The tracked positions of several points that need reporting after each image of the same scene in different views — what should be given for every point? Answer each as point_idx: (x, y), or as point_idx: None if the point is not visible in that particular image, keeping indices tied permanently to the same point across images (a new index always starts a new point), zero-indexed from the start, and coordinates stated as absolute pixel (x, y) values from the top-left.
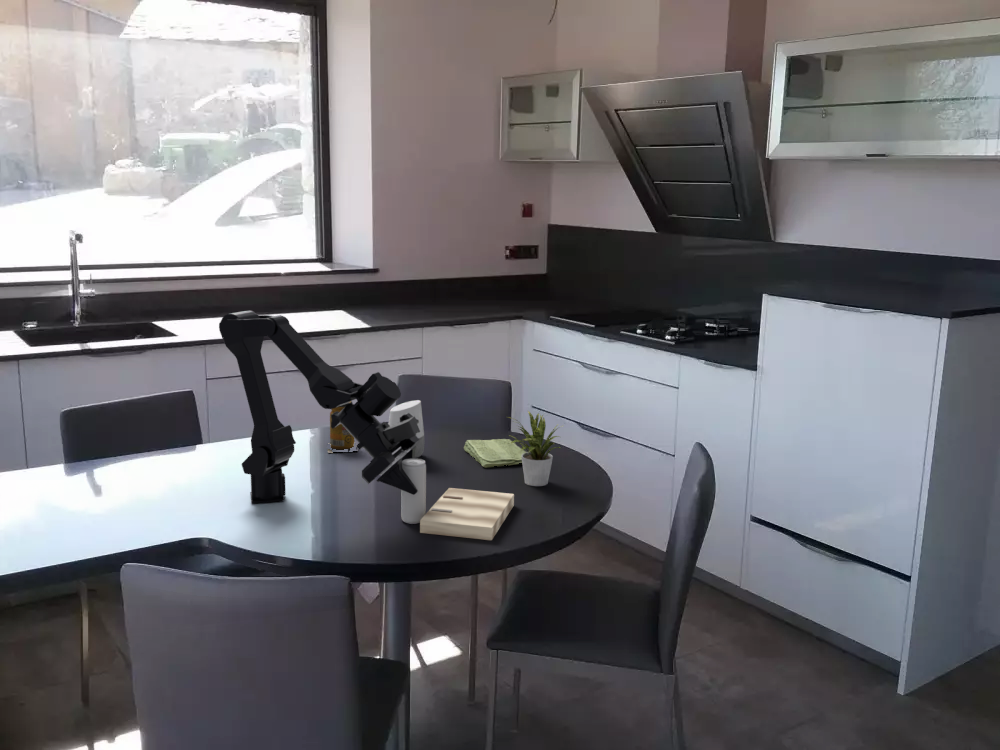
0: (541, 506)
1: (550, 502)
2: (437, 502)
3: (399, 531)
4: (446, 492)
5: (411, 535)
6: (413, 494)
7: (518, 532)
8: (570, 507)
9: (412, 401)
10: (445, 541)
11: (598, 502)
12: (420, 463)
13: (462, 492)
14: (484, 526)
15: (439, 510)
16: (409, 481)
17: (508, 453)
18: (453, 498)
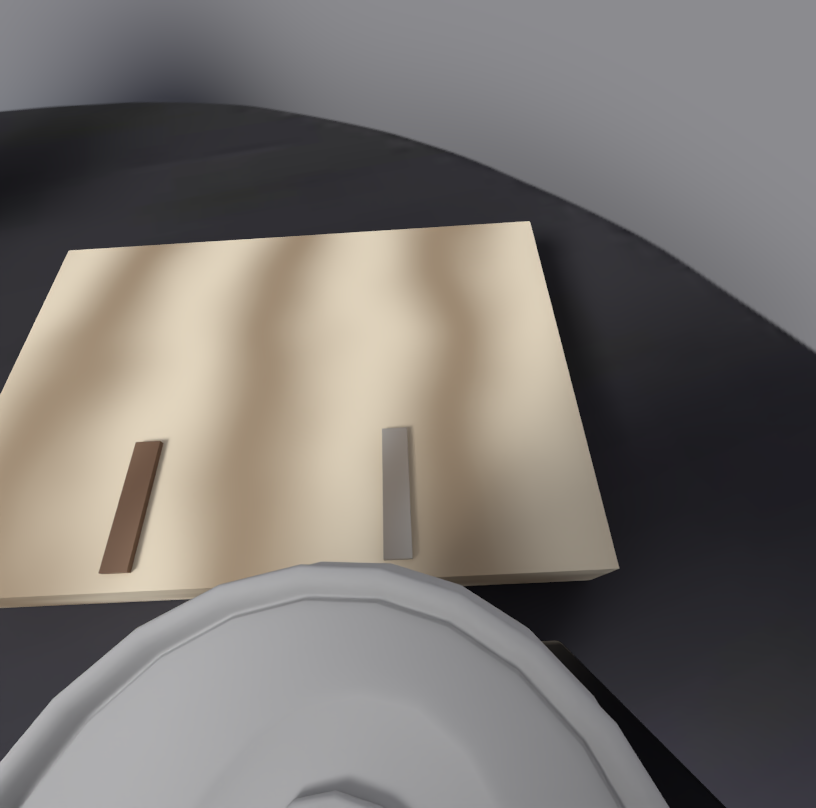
0: (116, 215)
1: (71, 202)
2: (239, 575)
3: None
4: (12, 586)
5: (652, 617)
6: None
7: (402, 217)
8: (126, 152)
9: None
10: (625, 415)
11: (77, 110)
12: (384, 677)
13: (24, 479)
14: (530, 246)
15: (410, 498)
16: (683, 783)
17: None
18: (148, 495)
